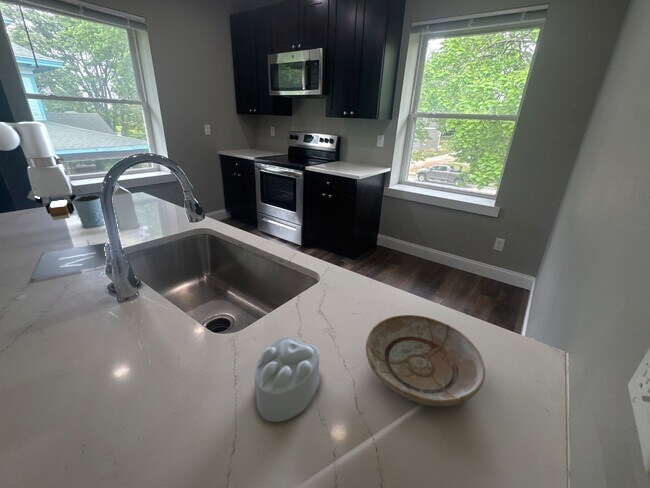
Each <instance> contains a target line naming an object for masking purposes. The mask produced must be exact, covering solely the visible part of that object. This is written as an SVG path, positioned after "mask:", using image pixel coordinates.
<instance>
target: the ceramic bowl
mask: <svg viewBox="0 0 650 488" xmlns="http://www.w3.org/2000/svg"><path fill="white" fill-rule="evenodd" d="M365 354H366V358H367V362H368V365H369V366H370V368H371V370H372V372H373V374H375V376H376V377H377V379H379V381H380V382H381V383H382V384H383V385H384V386H386V387H387V388H388V389H389V390H391V391H393V392H394V393H395V394H397V395H398V396H400V397H402V398H404V399H406V400H408V401H411V402H414V403H417V404H421V405H423V406H431V407H451V406H457V405H460V404H462V403H464V402H467V401H468V400H470V399H472V398H473V397H474V396H476V394H477V393H478V392H479V391H480V389H481V388H482V387H483V384H484V382H485V377H486V368H485V363H484V360H483V357H482V355H481V353H480V351H479V349H478V348H477V347H476V346H475V344H474V343H473V342H472V341H471V340H470V339H469V337H467V336H466V335H465V333H462V332H461V331H460V330H458V329H457V328H455V327H453V326H451V325H450V324H447V323H446V322H443V321H440V320H437V319H435V318H431V317H427V316H424V315H423V316H422V315H417V314H416V315H415V314H403V315H395V316H391V317H388V318H385V319H383V320H381V321H379V322H377V324H375V325H374V326H373V327H372V329H371V330H370V331H369V333H368V336H367V338H366V341H365Z"/></svg>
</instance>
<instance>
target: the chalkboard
mask: <svg viewBox="0 0 650 488" xmlns="http://www.w3.org/2000/svg"><path fill="white" fill-rule="evenodd" d="M106 243H107V242H102V243H95V244H91V245H85V246H79V247H72V248H67V249H60V250H53V251H47V252H43V254H42V255H41V256H40V257H41V258H40V259H39V262H38V264H37V265H36V268H35V270H34V272H33V273H32V276H31V278H30V281H33V280H39V279H44V278H48V277H49V278H50V277H54V276H59V275H64V274H69V273H74V272H80V271H85V270H90V269H94V268H95V269H96V268H101V267H106V266H107V265H106V256H105V251H104V247H105V244H106ZM105 265H106V266H105Z"/></svg>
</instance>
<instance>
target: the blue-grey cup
mask: <svg viewBox="0 0 650 488" xmlns="http://www.w3.org/2000/svg"><path fill="white" fill-rule="evenodd" d="M100 196H101V195H100V194H84V195H78V196H77V197H76V198H75V199H74V200H73V201H72V203H73V206H74V209H75V211H76V212H77V216H78V218H79V221H80V223H81V225H82V227H83V228H87V229H88V228H89V229H92V228H98V227H102V226H104V225H106V224H104V221H103V216H102V211H101V206H100V200H99V199H100Z"/></svg>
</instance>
